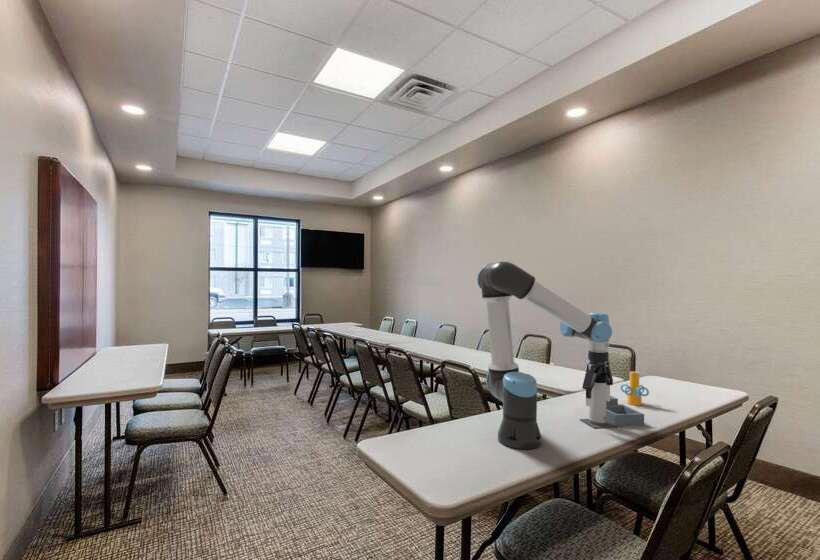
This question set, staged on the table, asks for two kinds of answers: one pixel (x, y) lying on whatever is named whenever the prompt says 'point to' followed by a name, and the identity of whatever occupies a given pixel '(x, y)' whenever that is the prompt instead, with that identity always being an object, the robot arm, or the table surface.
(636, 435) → the table surface
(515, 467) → the table surface
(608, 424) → the rubber mat
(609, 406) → the grey compartment tray
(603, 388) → the travel mug
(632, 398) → the cylinder
